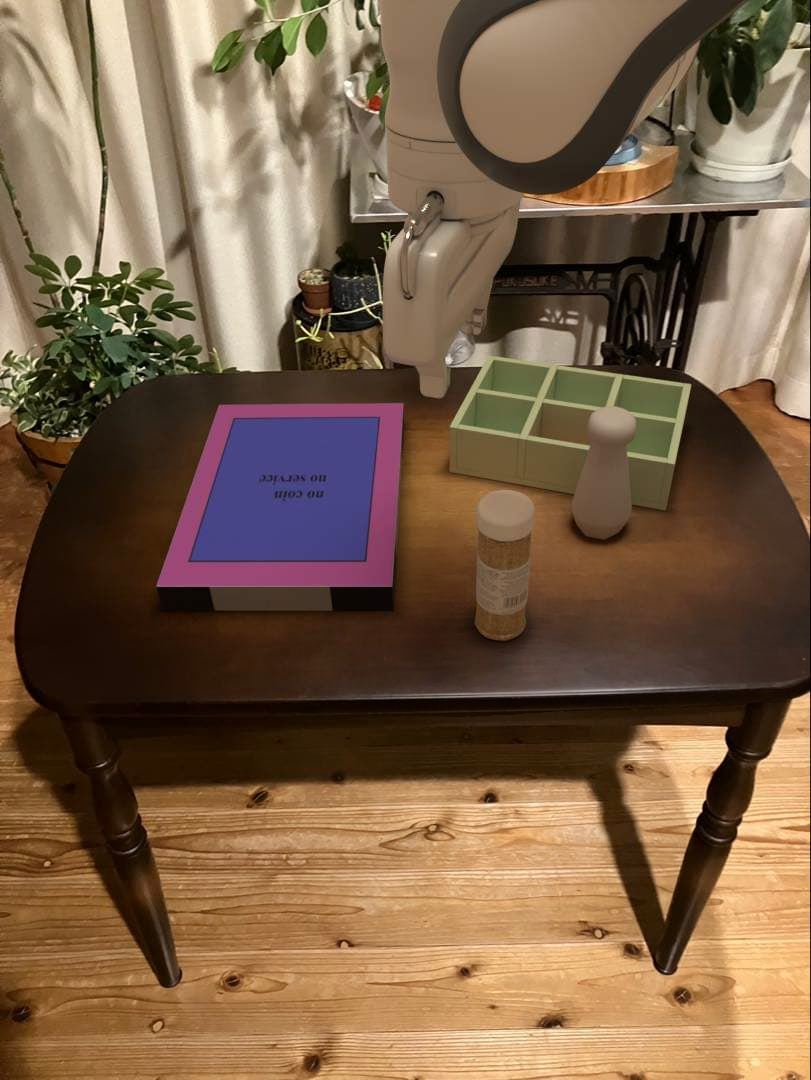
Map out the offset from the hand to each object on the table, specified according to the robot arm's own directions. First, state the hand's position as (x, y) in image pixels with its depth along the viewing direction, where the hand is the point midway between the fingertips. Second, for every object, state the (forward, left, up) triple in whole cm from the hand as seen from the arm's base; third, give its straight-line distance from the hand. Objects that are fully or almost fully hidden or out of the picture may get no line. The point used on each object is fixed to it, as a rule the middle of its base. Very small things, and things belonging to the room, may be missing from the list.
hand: (455, 360), depth 67 cm
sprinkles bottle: (-5, +2, -24) cm, 25 cm away
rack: (-5, -26, -24) cm, 36 cm away
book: (+19, -8, -24) cm, 32 cm away
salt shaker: (-11, -14, -24) cm, 30 cm away
